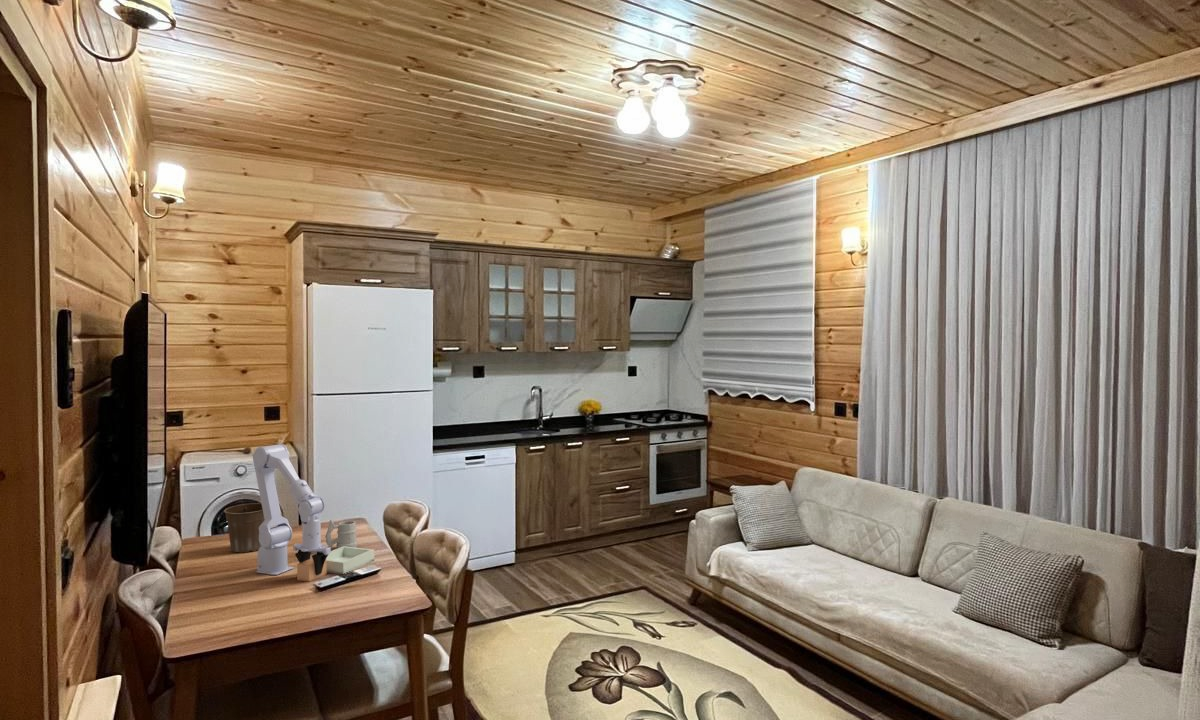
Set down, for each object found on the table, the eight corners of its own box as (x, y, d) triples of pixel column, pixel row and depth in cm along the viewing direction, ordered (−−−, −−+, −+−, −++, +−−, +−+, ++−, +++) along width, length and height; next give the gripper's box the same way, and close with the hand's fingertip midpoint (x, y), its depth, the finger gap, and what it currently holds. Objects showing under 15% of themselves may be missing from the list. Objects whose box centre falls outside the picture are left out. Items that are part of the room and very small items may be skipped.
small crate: (297, 580, 228) (297, 564, 228) (315, 572, 235) (315, 557, 235) (309, 581, 226) (308, 565, 226) (326, 574, 233) (326, 558, 233)
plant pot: (258, 555, 256) (257, 512, 256) (215, 555, 257) (215, 512, 256) (278, 542, 273) (278, 502, 272) (239, 542, 273) (238, 503, 273)
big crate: (311, 570, 238) (311, 558, 238) (343, 556, 253) (343, 546, 253) (343, 574, 233) (343, 562, 233) (374, 560, 248) (374, 549, 248)
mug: (360, 548, 264) (359, 517, 264) (328, 554, 257) (327, 522, 257) (354, 544, 270) (354, 514, 270) (323, 549, 263) (323, 518, 263)
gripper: (285, 534, 229) (286, 574, 229) (319, 538, 224) (320, 579, 224) (301, 529, 236) (302, 568, 236) (335, 533, 231) (335, 572, 231)
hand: (312, 573), depth 230 cm, fingers closed on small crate, 5 cm apart
